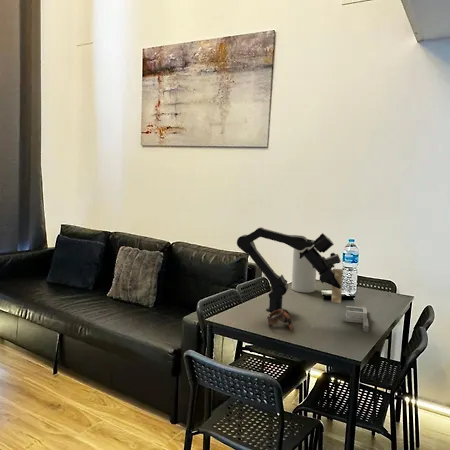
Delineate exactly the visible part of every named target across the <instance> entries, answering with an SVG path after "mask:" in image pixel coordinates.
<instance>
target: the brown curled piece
mask: <svg viewBox="0 0 450 450" xmlns="http://www.w3.org/2000/svg"><path fill="white" fill-rule="evenodd" d="M283 309H284V310H282V309H278V310H275V311H273V312H270V313H269V314H268V316H267V317H266V319H267V325H268V326H271V325H272V326H273V325H276V326H278V322H279V321H280V322H282V323H284V324H286V323H287V324H288V328H289V331H292V330H293V327H294V326H293V322H292V319H291V317H290V312H289V310H288V309H285V308H283Z"/></svg>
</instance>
